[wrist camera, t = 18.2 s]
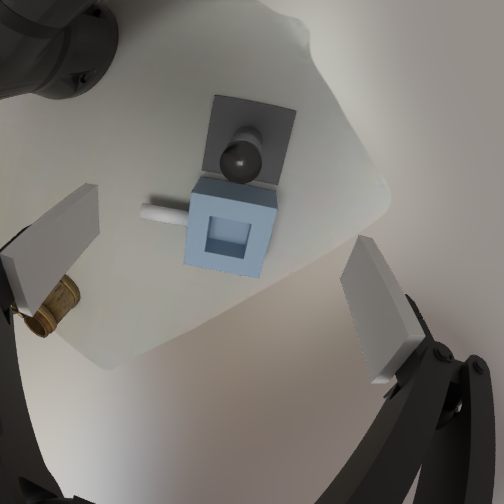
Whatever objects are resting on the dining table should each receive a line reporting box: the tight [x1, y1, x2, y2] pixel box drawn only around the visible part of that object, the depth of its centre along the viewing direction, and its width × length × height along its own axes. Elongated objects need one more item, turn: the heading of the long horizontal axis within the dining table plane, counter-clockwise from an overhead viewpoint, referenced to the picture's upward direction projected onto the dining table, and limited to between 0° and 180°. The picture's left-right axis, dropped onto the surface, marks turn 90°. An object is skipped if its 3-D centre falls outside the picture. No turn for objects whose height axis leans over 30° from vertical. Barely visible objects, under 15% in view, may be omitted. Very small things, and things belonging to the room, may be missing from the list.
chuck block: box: [139, 177, 278, 278], centre depth 38 cm, size 10×17×6 cm, turn 78°
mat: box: [202, 95, 296, 185], centre depth 35 cm, size 10×10×1 cm
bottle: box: [220, 126, 262, 184], centre depth 29 cm, size 4×4×12 cm
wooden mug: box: [11, 274, 80, 338], centre depth 41 cm, size 9×14×18 cm, turn 27°
